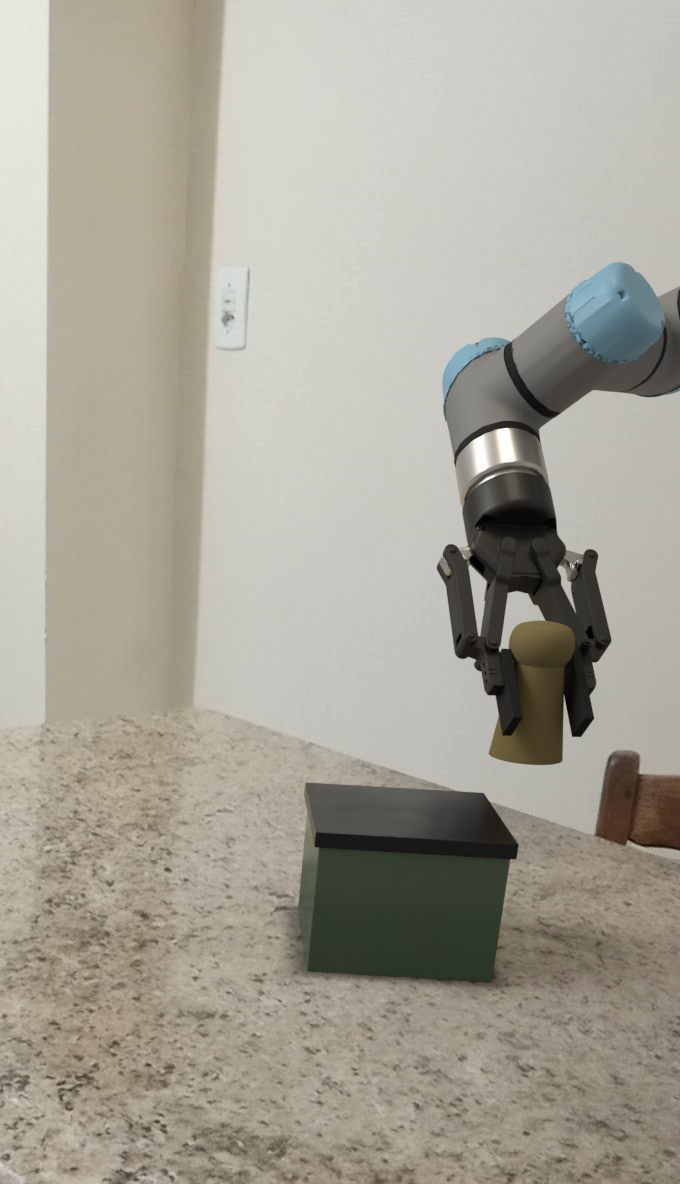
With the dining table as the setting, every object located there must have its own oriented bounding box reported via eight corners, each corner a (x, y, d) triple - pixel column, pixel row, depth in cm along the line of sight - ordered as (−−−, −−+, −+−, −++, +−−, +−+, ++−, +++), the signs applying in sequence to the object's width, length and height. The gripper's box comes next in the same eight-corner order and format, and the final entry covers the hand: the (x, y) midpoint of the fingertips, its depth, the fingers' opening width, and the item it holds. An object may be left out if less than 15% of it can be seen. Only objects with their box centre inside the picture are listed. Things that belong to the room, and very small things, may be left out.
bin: (465, 918, 101) (483, 792, 97) (497, 985, 89) (519, 844, 85) (293, 908, 101) (305, 782, 98) (302, 972, 89) (315, 832, 86)
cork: (541, 768, 111) (562, 629, 107) (474, 754, 114) (492, 620, 110) (575, 757, 115) (596, 623, 111) (510, 744, 119) (528, 614, 114)
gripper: (588, 531, 123) (636, 753, 114) (391, 524, 122) (424, 750, 112) (623, 471, 117) (677, 702, 107) (415, 463, 115) (452, 698, 106)
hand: (547, 726), depth 110 cm, fingers closed on cork, 5 cm apart
